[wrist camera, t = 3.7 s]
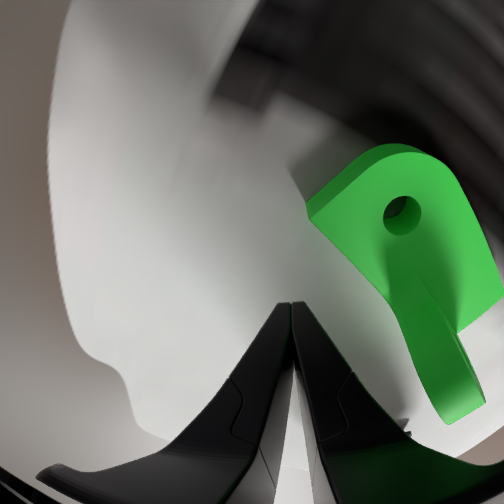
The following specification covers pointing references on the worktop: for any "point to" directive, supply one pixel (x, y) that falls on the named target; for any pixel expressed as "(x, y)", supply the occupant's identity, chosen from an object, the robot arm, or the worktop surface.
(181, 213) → the worktop surface
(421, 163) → the mechanical part
